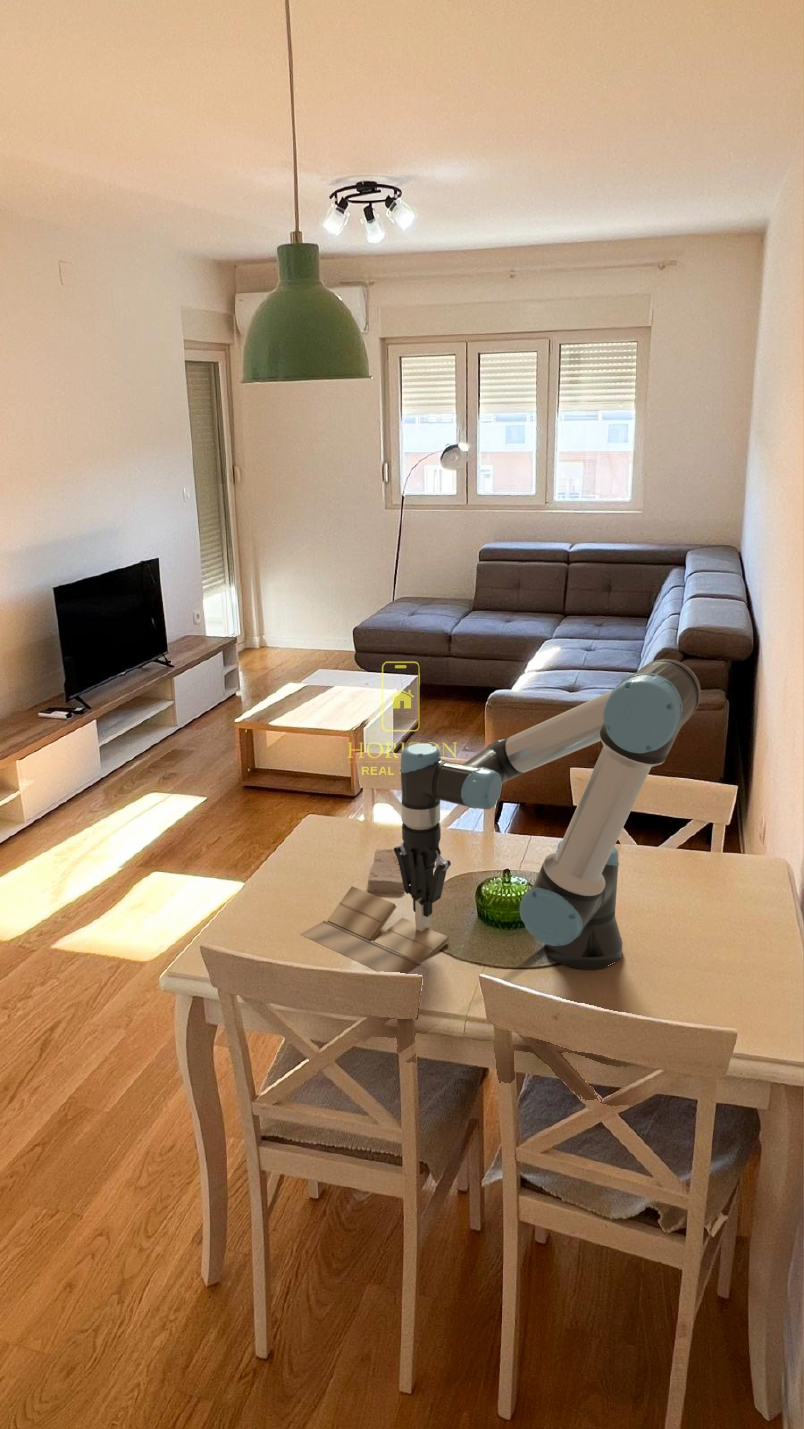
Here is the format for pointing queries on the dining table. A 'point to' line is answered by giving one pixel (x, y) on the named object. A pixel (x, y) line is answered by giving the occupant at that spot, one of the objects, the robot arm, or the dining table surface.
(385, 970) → the floorboard
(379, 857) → the brick
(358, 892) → the plank
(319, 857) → the dining table surface
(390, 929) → the plank
